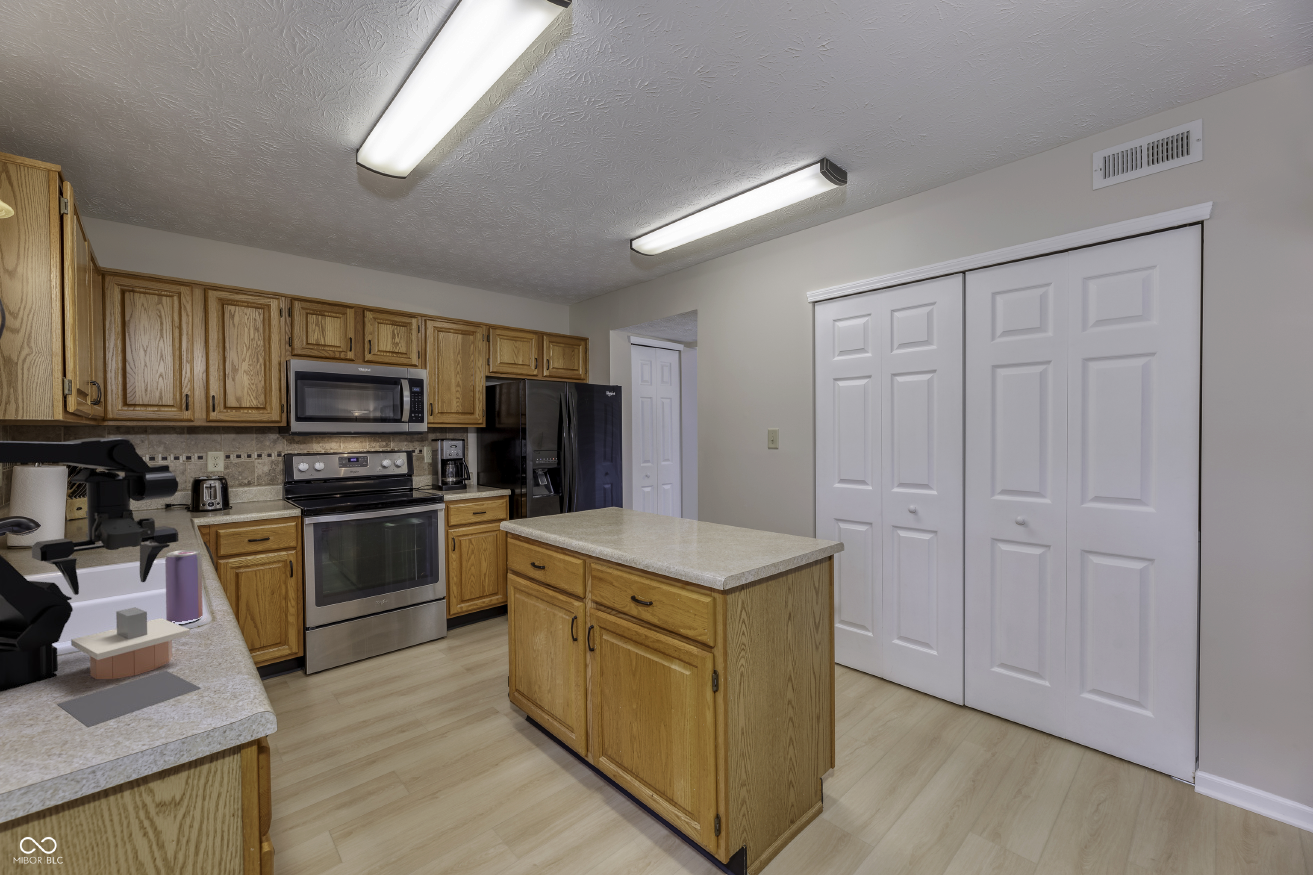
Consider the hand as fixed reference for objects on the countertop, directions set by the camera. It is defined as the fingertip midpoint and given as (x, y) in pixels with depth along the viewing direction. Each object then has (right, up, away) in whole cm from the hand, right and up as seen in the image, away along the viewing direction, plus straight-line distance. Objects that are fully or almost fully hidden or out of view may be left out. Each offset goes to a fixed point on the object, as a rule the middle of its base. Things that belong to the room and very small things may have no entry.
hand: (110, 587), depth 103 cm
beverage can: (0, -12, +16) cm, 20 cm away
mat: (+21, -12, -18) cm, 30 cm away
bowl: (+11, -12, -7) cm, 18 cm away
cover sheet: (+11, -7, -7) cm, 15 cm away
